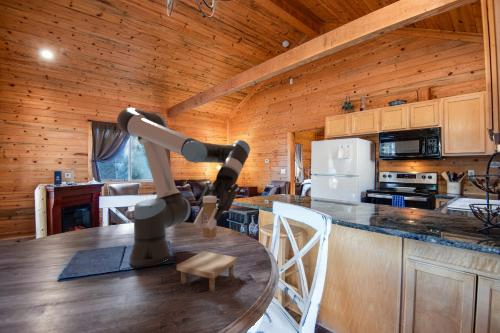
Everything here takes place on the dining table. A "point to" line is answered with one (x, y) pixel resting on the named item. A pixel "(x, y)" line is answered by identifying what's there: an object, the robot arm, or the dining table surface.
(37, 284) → the dining table surface
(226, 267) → the stool
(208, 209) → the spice jar
